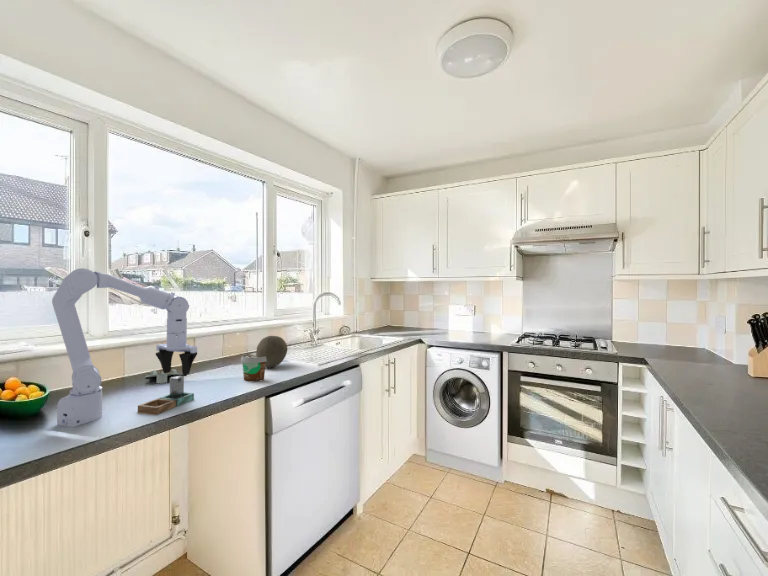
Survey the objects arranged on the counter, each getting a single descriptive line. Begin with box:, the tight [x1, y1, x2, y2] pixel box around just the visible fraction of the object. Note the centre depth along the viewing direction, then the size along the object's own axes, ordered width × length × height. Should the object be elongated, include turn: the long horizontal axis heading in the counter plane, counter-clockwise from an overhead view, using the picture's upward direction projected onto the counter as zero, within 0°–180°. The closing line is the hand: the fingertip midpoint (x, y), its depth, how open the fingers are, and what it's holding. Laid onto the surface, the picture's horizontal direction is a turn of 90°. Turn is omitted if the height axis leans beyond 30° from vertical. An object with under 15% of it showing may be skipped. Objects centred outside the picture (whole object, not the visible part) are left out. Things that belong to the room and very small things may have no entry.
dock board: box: [136, 392, 195, 416], centre depth 114 cm, size 16×7×3 cm, turn 166°
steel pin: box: [169, 375, 185, 399], centre depth 118 cm, size 4×4×8 cm
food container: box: [240, 353, 267, 382], centre depth 149 cm, size 12×6×10 cm, turn 62°
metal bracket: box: [145, 368, 184, 384], centre depth 148 cm, size 14×6×15 cm
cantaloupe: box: [255, 335, 288, 369], centre depth 172 cm, size 14×14×15 cm
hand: (176, 373), depth 118 cm, fingers open, 7 cm apart
